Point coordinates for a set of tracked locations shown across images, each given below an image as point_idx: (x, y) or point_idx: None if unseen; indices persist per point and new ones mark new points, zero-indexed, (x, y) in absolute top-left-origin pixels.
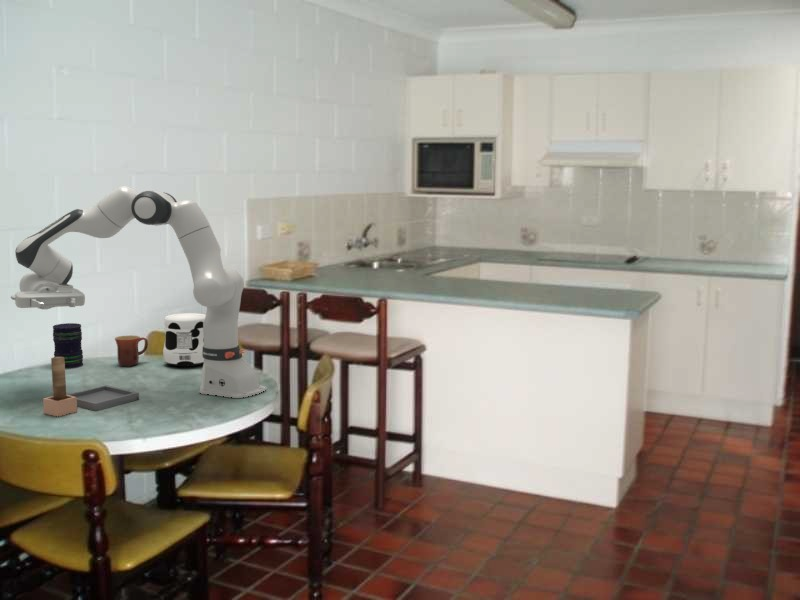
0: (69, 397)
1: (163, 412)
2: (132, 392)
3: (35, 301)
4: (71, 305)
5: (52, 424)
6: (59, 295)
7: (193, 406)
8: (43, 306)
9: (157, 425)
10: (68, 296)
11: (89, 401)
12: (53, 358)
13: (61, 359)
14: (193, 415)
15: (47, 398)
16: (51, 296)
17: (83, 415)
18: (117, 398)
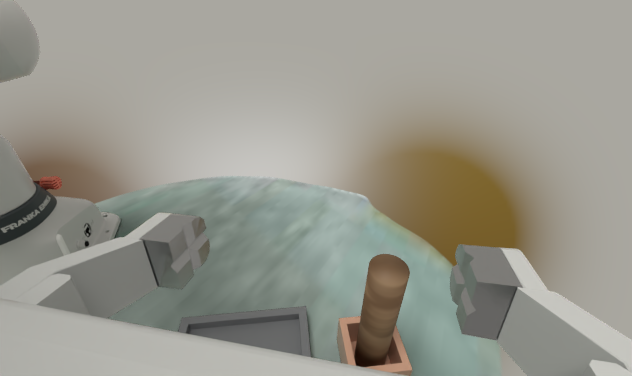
0: (349, 336)
1: (240, 236)
2: (186, 329)
3: (577, 308)
4: (201, 238)
5: (409, 297)
6: (117, 342)
7: None
8: (453, 269)
9: (291, 205)
10: (24, 305)
11: (303, 331)
12: (402, 272)
13: (383, 255)
14: (230, 206)
15: (402, 360)
16: (284, 356)
17: (339, 306)
18: (245, 312)
